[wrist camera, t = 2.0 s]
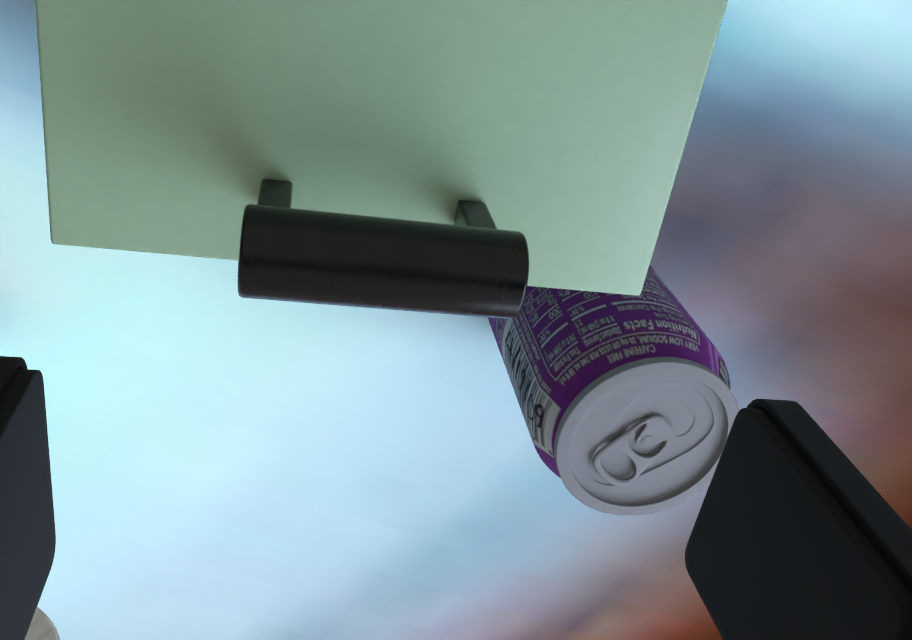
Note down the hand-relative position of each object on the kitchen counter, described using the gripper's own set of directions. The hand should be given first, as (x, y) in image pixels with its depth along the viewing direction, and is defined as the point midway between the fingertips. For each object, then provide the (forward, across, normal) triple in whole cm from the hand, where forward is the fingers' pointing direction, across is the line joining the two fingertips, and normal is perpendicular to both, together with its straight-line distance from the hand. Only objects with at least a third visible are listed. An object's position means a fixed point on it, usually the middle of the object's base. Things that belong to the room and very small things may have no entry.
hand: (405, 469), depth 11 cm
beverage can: (+24, -10, +8) cm, 27 cm away
